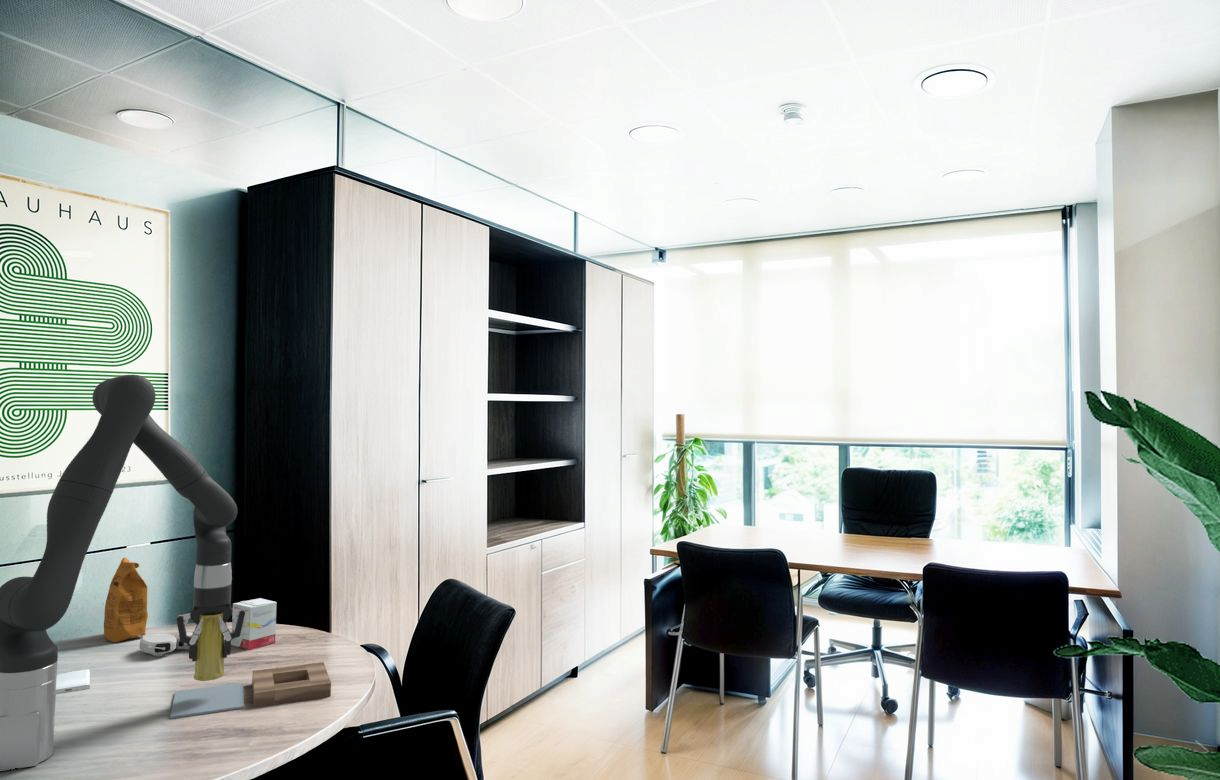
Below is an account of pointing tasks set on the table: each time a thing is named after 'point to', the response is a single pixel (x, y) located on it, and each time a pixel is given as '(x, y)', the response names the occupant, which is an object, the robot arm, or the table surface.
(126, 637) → the coffee package
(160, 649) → the robot toy
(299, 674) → the pocket block
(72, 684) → the hard drive
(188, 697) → the mat
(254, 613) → the ink box
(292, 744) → the table surface
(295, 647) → the table surface
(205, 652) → the vase
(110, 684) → the table surface
